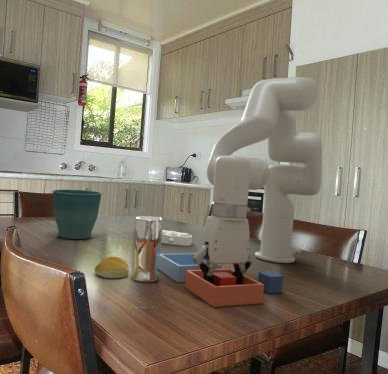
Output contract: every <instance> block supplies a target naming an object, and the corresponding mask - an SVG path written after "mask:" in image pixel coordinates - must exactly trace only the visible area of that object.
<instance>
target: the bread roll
mask: <svg viewBox="0 0 388 374" xmlns="http://www.w3.org/2000/svg"><path fill="white" fill-rule="evenodd" d="M129 272H130V265H129V264H128V262H127V261H126V260H125V259H123V258H121V257H117V256H107V257H105V258H103V259H102V260H101V261H99V262H98V264H96V266H95V268H94V273H95V274H96V275H97V276H99V277H102V278H105V279H122V278H125V277H127V276H128V274H129Z"/></svg>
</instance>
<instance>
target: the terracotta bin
mask: <svg viewBox="0 0 388 374" xmlns="http://www.w3.org/2000/svg"><path fill="white" fill-rule="evenodd" d="M233 271H235V269H232V268H221V269H215V271H214V273H219V272H227V273H229V274H231V275H232V272H233ZM203 278H204V273H203V272H202V270H186V282H184V283H185V284H184V288H185V289H186V290H188V291H189V292H190V293H192V294H193V295H195V296H197V297H198V298H200V299H201V300H202V301H204V302H205V303H207V304H208V305H210V306H211V307H213V308H220V307H231V306H244V305H257V304H258V305H259V304H263V301H264V284H262V283H260V282H258V280H255V279H253V278H251V277H249V276H248V275H246V274H245V275H243V285H229V286H215V285H213V284H211V283H210V282H208V281H206V280H204V279H203Z"/></svg>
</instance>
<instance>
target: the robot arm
mask: <svg viewBox="0 0 388 374" xmlns="http://www.w3.org/2000/svg"><path fill="white" fill-rule="evenodd" d="M318 92H319V91H318V85H317V82H316V81H315V80H314V79H313V78H311V77H303V76H302V77H301V76H292V77H277V78H267V79H262V80H259V81H258V82H256V83H255V84H254V85H253V86H252V89H251V91H250V93H249V97H248V99H247V103H246V105H245V109H244V111H243V114H242V117H241V120H240V122H238V123H236V124H235V125H234V126H232V127H231V128H230V129H228V130H227V131H226V132H225V133H224V134H223V135H221V136H220V137H219V138H218V140H217V141H216V142H215V144H214V146H213V149H212V151H211V154H210V157H209V160H208V163H207V166H206V178H207V180H208V182H209V184H211V185H212V186H213V190H212V202H211V214H210V216H209V215H208V216H207V218H206V221H205V223H204V229H203V233H202V238H201V246H200V249H199V250H197V252H195V253H196V254H195V255H194V256H193V260H194V261H195V262H196V264H197V265H198V267H199V268H200V269H201V270H202V272H203V273H204V278H203V279H204V280H206V281H208V282H210V283H211V284H213V285H214V282H215V277H214V276H213V273H214V271H215V269H216V267H217V265H218V264H221V265H232V267H233V270H234V271H233V272H232V275H233V276H235V277H236V285H243V275H245V276H246V274H247V271H248V269H249V268H250V267H251V266H252V264H253V263H254V262H255V260H256V259H259V260H263V261H267V262H272V263H276V264H277V263H279V264H293V263H295V261H296V258H295V256H293V255H295V254H297V255H300V254H302V251H303V250H302V249H301V247H294V246H293V245H292V239H293V229H294V217H295V205H294V203H293V202H292V200H291V199H290V198H289V196H288V195H297V196H298V195H299V196H309V197H310V196H315V195H318V193H320V190H321V187H322V178H323V177H322V176H323V175H322V174H323V141H322V138H321V136H320V135H319V134H317V133H315V132H299V131H297V116H296V113H295V112H297V111H307V110H310V109H311V108H313V107H314V105H315V104H316V102H317V99H318ZM263 141H267V154H268V155H267V156H268V159H270V160H271V161H273V162H276V164H271V165H269V166H268V164H267V163H266V161H265V160H263V159H261V158H259V157H246V156H241V155H239V156H238V155H233V154H234V153H235V152H237V151H238V150H241V149H243V148H246V147H249V146H251V145H254V144H258V143H260V142H263ZM277 162H278V164H277ZM281 163H282V164H281ZM284 163H289V164H284ZM290 163H291V164H290ZM300 164H303V165H300ZM261 189H264V192H263V193H264V200H263V213H262V225H261V237H260V238H261V239H260V248H259V251H255V253H254V252H253V251H252V250H251V248H250V224H249V219H248V218H247V215H248V214H250V213H251V208H250V207H249V206H248V203H249V202H248V201H249V191H258V190H261ZM202 258H203V259H205V260H206V262H205V264H204V262H203V260H202Z"/></svg>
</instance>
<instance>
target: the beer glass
mask: <svg viewBox="0 0 388 374" xmlns="http://www.w3.org/2000/svg"><path fill="white" fill-rule="evenodd" d="M162 230H163V218H161V217H157V216H156V217H155V216H144V215H143V216H142V215H140V216H136V217H135V222H134V228H133V248H134V249H133V250H134V259H135V260H134V264H135V265H134V269H133V273H132V279H133V280H134V281H135V282H136V281H137V282H139V283H140V282H141V283H154V282H156V281H158V272H157V270H158V269H157V266H158V256H159V254H160V251H161V248H162V247H161V246H162V243H161V242H162Z"/></svg>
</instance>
